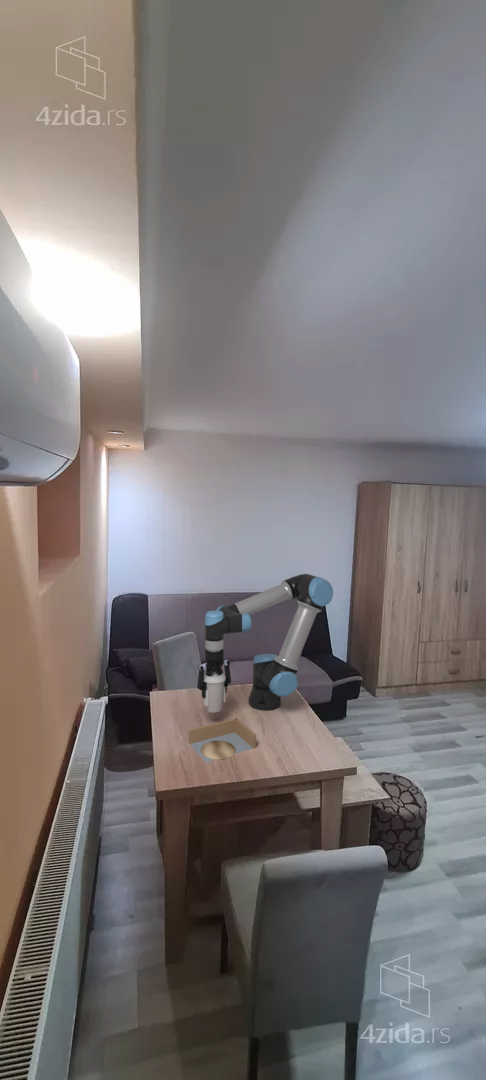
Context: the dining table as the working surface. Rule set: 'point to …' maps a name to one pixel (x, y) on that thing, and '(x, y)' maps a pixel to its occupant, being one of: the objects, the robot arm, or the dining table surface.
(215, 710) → the coffee cup
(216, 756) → the pad
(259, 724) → the dining table surface
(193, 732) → the tray
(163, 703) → the dining table surface
